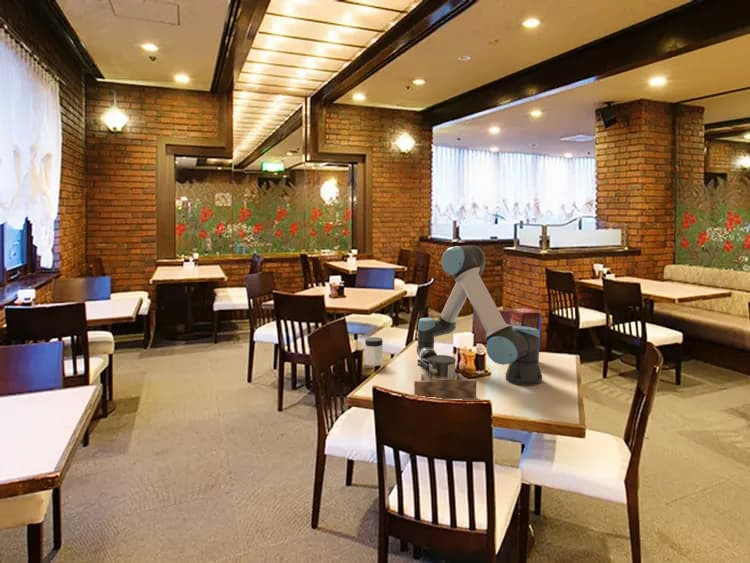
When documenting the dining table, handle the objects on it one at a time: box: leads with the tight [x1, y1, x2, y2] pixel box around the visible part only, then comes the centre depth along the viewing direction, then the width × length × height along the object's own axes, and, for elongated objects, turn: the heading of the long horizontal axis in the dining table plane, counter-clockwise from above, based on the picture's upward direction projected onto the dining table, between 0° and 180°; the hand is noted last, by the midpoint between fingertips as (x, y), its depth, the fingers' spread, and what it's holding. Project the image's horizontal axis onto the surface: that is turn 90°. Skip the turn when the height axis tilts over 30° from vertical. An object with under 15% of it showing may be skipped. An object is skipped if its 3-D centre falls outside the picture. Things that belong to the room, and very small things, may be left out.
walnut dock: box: [413, 372, 478, 399], centre depth 209 cm, size 24×10×7 cm, turn 94°
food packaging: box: [509, 307, 540, 331], centre depth 253 cm, size 13×9×25 cm
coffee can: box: [428, 354, 456, 380], centre depth 210 cm, size 10×10×14 cm
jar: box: [364, 336, 384, 367], centre depth 251 cm, size 9×8×12 cm
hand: (438, 374), depth 215 cm, fingers closed
